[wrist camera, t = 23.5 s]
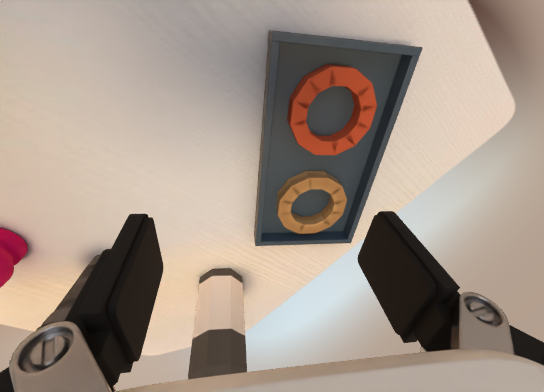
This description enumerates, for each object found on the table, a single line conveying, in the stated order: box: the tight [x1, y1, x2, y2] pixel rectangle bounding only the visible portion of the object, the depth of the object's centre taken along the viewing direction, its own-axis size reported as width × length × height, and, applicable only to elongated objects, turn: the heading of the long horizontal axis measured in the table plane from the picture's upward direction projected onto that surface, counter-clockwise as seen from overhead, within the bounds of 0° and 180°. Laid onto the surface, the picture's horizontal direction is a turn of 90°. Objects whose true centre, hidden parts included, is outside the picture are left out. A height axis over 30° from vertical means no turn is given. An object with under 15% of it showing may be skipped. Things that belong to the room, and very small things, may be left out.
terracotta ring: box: [287, 64, 377, 155], centre depth 29 cm, size 10×10×2 cm
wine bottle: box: [188, 269, 247, 379], centre depth 34 cm, size 8×8×30 cm
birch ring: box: [276, 171, 347, 234], centre depth 37 cm, size 10×10×2 cm
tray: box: [254, 30, 422, 246], centre depth 33 cm, size 28×16×3 cm, turn 175°
